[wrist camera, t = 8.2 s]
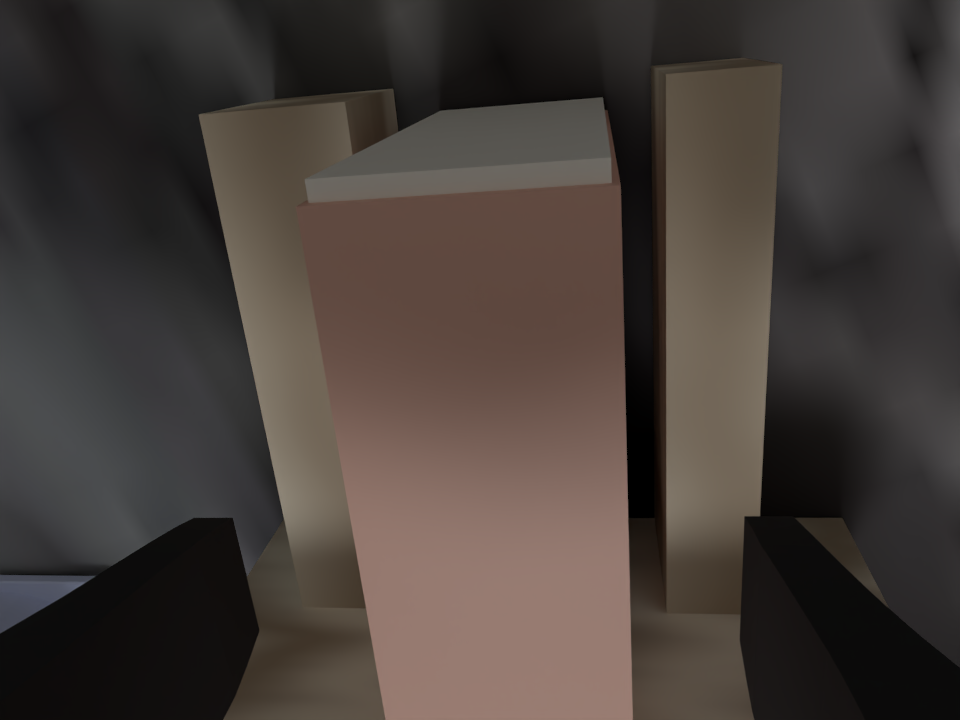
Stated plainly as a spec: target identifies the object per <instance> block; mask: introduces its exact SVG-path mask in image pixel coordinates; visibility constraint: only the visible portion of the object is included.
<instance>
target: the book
mask: <svg viewBox="0 0 960 720" xmlns="http://www.w3.org/2000/svg"><path fill="white" fill-rule="evenodd" d="M305 185H306V191H307V197H308V200H307V201H305V202H303V203H301V204H300V205H298V206H296V212H297V217H298V223H299V229H300V235H301V240H302V246H303V252H304V257H305V263H306V269H307V274H308V280H309V286H310V292H311V297H312V303H313V309H314V314H315V320H316V326H317V331H318V337H319V343H320V349H321V354H322V360H323V366H324V371H325V377H326V383H327V389H328V394H329V400H330V406H331V411H332V417H333V423H334V428H335V434H336V440H337V446H338V451H339V457H340V463H341V468H342V474H343V480H344V485H345V491H346V497H347V503H348V508H349V514H350V520H351V525H352V531H353V537H354V543H355V548H356V554H357V560H358V565H359V571H360V577H361V582H362V588H363V594H364V600H365V605H366V611H367V617H368V622H369V628H370V634H371V639H372V645H373V651H374V657H375V662H376V668H377V674H378V679H379V685H380V691H381V697H382V702H383V708H384V714H385V719H386V720H633V704H632V660H631V616H630V571H629V527H628V483H627V438H626V394H625V350H624V305H623V261H622V217H621V184H620V178H619V172H618V167H617V161H616V155H615V150H614V144H613V138H612V133H611V127H610V121H609V116H608V110H604V102H603V97H600V98H588V99H576V100H564V101H552V102H540V103H528V104H516V105H504V106H492V107H479V108H467V109H455V110H443V111H439V112H437V113H435V114H433V115H431V116H429V117H427V118H425V119H423V120H421V121H419V122H417V123H415V124H413V125H411V126H409V127H407V128H405V129H403V130H401V131H399V132H397V133H395V134H393V135H391V136H389V137H387V138H385V139H383V140H382V141H380V142H378V143H376V144H374V145H372V146H370V147H368V148H366V149H364V150H362V151H360V152H358V153H356V154H354V155H352V156H350V157H348V158H346V159H344V160H342V161H340V162H338V163H336V164H334V165H332V166H330V167H328V168H326V169H324V170H322V171H320V172H318V173H316V174H314V175H312V176H310V177H308V178H306V179H305Z"/></svg>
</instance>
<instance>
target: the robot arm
mask: <svg viewBox="0 0 960 720" xmlns="http://www.w3.org/2000/svg"><path fill="white" fill-rule="evenodd" d="M259 631H260V630H259V626H258V622H257V618H256V613H255V609H254V605H253V601H252V597H251V593H250V588H249V584H248V580H247V576H246V572H245V568H244V563H243V559H242V555H241V551H240V547H239V543H238V538H237V534H236V530H235V526H234V522H233V518H193V519H191V520H189V521H187V522H185V523H183V524H181V525H179V526H177V527H176V528H174V529H172V530H170V531H169V532H167V533H165V534H163V535H162V536H160V537H158V538H157V539H155V540H153V541H152V542H150V543H148V544H147V545H145V546H144V547H142V548H140V549H139V550H137V551H135V552H134V553H132V554H131V555H129V556H127V557H126V558H124V559H123V560H121V561H119V562H118V563H116V564H115V565H113V566H111V567H110V568H108V569H107V570H105V571H103V572H102V573H100V574H99V575H97V576H50V575H0V720H223V719H224V717H225V715H226V713H227V712H228V710H229V708H230V706H231V704H232V702H233V700H234V698H235V696H236V693H237V691H238V688H239V686H240V683H241V681H242V678H243V675H244V673H245V670H246V668H247V665H248V662H249V659H250V657H251V654H252V651H253V648H254V645H255V642H256V639H257V636H258V634H259ZM740 646H741V651H742V657H743V663H744V669H745V675H746V681H747V686H748V692H749V697H750V702H751V708H752V713H753V716H754V720H960V668H959V667H958V666H957V665H956V664H954V663H953V662H952V661H951V660H949V659H948V658H947V657H946V656H944V655H943V654H942V653H941V652H939V651H938V650H937V649H936V648H934V647H933V646H932V645H931V644H930V643H928V642H927V641H926V640H925V639H923V638H922V637H921V636H920V635H919V634H917V633H916V632H915V631H914V630H913V629H912V628H910V627H909V626H908V625H907V624H906V623H905V622H903V621H902V620H901V619H900V618H899V617H898V616H897V615H896V614H895V613H894V612H892V611H891V610H890V609H889V608H888V607H887V606H886V605H885V604H884V603H882V602H881V601H880V600H879V599H878V598H877V597H876V596H875V595H874V594H873V593H871V592H870V591H869V590H868V589H867V588H866V587H865V586H864V585H863V584H862V583H861V582H860V581H859V580H858V579H857V578H856V577H855V576H854V575H853V574H852V573H851V572H849V571H848V570H847V569H846V568H845V567H844V566H843V565H842V564H841V563H840V562H839V561H838V560H837V559H836V558H835V557H834V556H833V555H832V554H831V553H830V552H829V551H828V550H827V549H826V548H825V547H824V546H823V545H822V544H821V543H820V542H819V541H818V540H817V539H816V538H815V537H814V536H813V535H812V534H811V533H810V532H809V531H808V530H807V529H806V528H805V527H804V526H803V525H802V524H801V523H800V522H799V521H798V520H797V519H795V518H794V517H793V516H744V542H743V567H742V592H741V617H740Z"/></svg>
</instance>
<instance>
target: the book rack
mask: <svg viewBox="0 0 960 720" xmlns="http://www.w3.org/2000/svg"><path fill="white" fill-rule="evenodd" d="M781 83H782V64H779V63H772V62H766V61H760V60H753V59H747V58H735V59H724V60H713V61H701V62H690V63H678V64H667V65H656V66H651V137H652V264H653V390H654V517H655V518H628V527H629V571H630V616H631V660H632V704H633V720H754V716H753V713H752V708H751V702H750V697H749V692H748V686H747V681H746V675H745V669H744V663H743V657H742V651H741V646H740V617H741V592H742V567H743V542H744V516H760V505H761V484H762V464H763V444H764V424H765V404H766V384H767V364H768V344H769V324H770V304H771V284H772V264H773V244H774V224H775V204H776V184H777V163H778V143H779V123H780V103H781ZM199 119H200V123H201V128H202V133H203V137H204V142H205V147H206V152H207V156H208V161H209V166H210V171H211V175H212V180H213V185H214V190H215V194H216V199H217V204H218V208H219V213H220V218H221V223H222V227H223V232H224V237H225V242H226V246H227V251H228V256H229V261H230V265H231V270H232V275H233V280H234V284H235V289H236V294H237V298H238V303H239V308H240V313H241V317H242V322H243V327H244V332H245V336H246V341H247V346H248V351H249V355H250V360H251V365H252V370H253V374H254V379H255V384H256V388H257V393H258V398H259V403H260V407H261V412H262V417H263V422H264V426H265V431H266V436H267V441H268V445H269V450H270V455H271V460H272V464H273V469H274V474H275V478H276V483H277V488H278V493H279V497H280V502H281V507H282V512H283V516H284V520H283V521H282V523H281V525H280V526H279V528H278V529H277V531H276V532H275V534H274V536H273V537H272V539H271V540H270V542H269V543H268V545H267V547H266V548H265V550H264V551H263V553H262V554H261V556H260V558H259V559H258V561H257V562H256V564H255V565H254V567H253V569H252V570H251V572H250V573H249V575H248V576H247V580H248V584H249V588H250V593H251V597H252V601H253V605H254V609H255V613H256V618H257V622H258V626H259V630H260V631H259V634H258V636H257V639H256V642H255V645H254V648H253V651H252V654H251V657H250V659H249V662H248V665H247V668H246V670H245V673H244V675H243V678H242V681H241V683H240V686H239V688H238V691H237V693H236V696H235V698H234V700H233V702H232V704H231V706H230V708H229V710H228V712H227V713H226V715H225V717H224V719H223V720H386V719H385V714H384V708H383V702H382V697H381V691H380V685H379V679H378V674H377V668H376V662H375V657H374V651H373V645H372V639H371V634H370V628H369V622H368V617H367V611H366V605H365V600H364V594H363V588H362V582H361V577H360V571H359V565H358V560H357V554H356V548H355V543H354V537H353V531H352V525H351V520H350V514H349V508H348V503H347V497H346V491H345V485H344V480H343V474H342V468H341V463H340V457H339V451H338V446H337V440H336V434H335V428H334V423H333V417H332V411H331V406H330V400H329V394H328V389H327V383H326V377H325V371H324V366H323V360H322V354H321V349H320V343H319V337H318V331H317V326H316V320H315V314H314V309H313V303H312V297H311V292H310V286H309V280H308V274H307V269H306V263H305V257H304V252H303V246H302V240H301V235H300V229H299V223H298V217H297V212H296V206H298V205H300V204H301V203H303V202H305V201H307V200H308V197H307V191H306V185H305V179H306V178H308V177H310V176H312V175H314V174H316V173H318V172H320V171H322V170H324V169H326V168H328V167H330V166H332V165H334V164H336V163H338V162H340V161H342V160H344V159H346V158H348V157H350V156H352V155H354V154H356V153H358V152H360V151H362V150H364V149H366V148H368V147H370V146H372V145H374V144H376V143H378V142H380V141H382V140H383V139H385V138H387V137H389V136H391V135H393V134H395V133H397V132H399V131H398V123H397V115H396V107H395V99H394V91H393V89H384V90H372V91H361V92H350V93H338V94H327V95H315V96H304V97H293V98H281V99H272V100H267V101H262V102H257V103H253V104H248V105H243V106H238V107H233V108H228V109H223V110H218V111H213V112H209V113H204V114H199ZM795 519H797V520H798V521H799V522H800V523H801V524H802V525H803V526H804V527H805V528H806V529H807V530H808V531H809V532H810V533H811V534H812V535H813V536H814V537H815V538H816V539H817V540H818V541H819V542H820V543H821V544H822V545H823V546H824V547H825V548H826V549H827V550H828V551H829V552H830V553H831V554H832V555H833V556H834V557H835V558H836V559H837V560H838V561H839V562H840V563H841V564H842V565H843V566H844V567H845V568H846V569H847V570H848V571H849V572H851V573H852V574H853V575H854V576H855V577H856V578H857V579H858V580H859V581H860V582H861V583H862V584H863V585H864V586H865V587H866V588H867V589H868V590H869V591H870V592H871V593H873V594H874V595H875V596H876V597H877V598H878V599H879V600H880V601H881V602H882V603H884V604H885V605H886V606H887V604H886V602H885V600H884V598H883V596H882V594H881V592H880V590H879V588H878V586H877V584H876V583H875V581H874V579H873V577H872V575H871V573H870V571H869V569H868V567H867V565H866V563H865V561H864V559H863V557H862V555H861V553H860V551H859V550H858V548H857V546H856V544H855V542H854V540H853V538H852V536H851V534H850V532H849V530H848V528H847V526H846V524H845V522H844V520H843V518H795ZM887 607H888V606H887Z"/></svg>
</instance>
